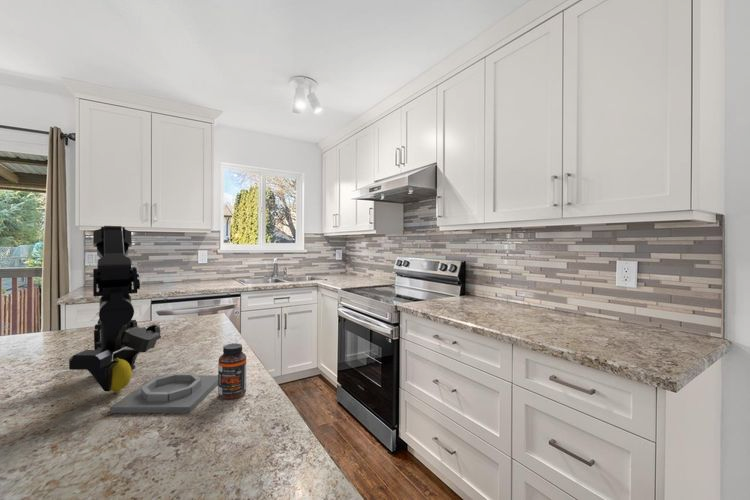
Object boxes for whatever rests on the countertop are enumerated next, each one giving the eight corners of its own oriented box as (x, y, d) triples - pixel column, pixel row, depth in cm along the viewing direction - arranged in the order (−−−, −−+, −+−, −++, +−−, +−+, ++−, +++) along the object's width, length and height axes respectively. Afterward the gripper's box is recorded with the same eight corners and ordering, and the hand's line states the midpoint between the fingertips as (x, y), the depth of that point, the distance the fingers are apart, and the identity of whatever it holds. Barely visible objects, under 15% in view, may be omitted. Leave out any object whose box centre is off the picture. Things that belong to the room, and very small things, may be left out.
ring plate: (109, 413, 69) (109, 399, 69) (157, 380, 85) (157, 369, 85) (189, 412, 69) (189, 399, 69) (222, 380, 85) (222, 369, 85)
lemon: (115, 399, 74) (115, 363, 74) (95, 396, 76) (94, 361, 75) (137, 388, 80) (137, 354, 80) (118, 386, 81) (117, 353, 81)
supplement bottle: (218, 403, 74) (218, 351, 73) (217, 392, 79) (217, 343, 78) (248, 397, 76) (247, 347, 76) (244, 387, 82) (244, 340, 81)
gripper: (122, 329, 68) (123, 405, 69) (174, 309, 87) (175, 369, 87) (65, 328, 68) (67, 405, 68) (130, 309, 86) (131, 369, 87)
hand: (116, 385), depth 78 cm, fingers closed on lemon, 5 cm apart
